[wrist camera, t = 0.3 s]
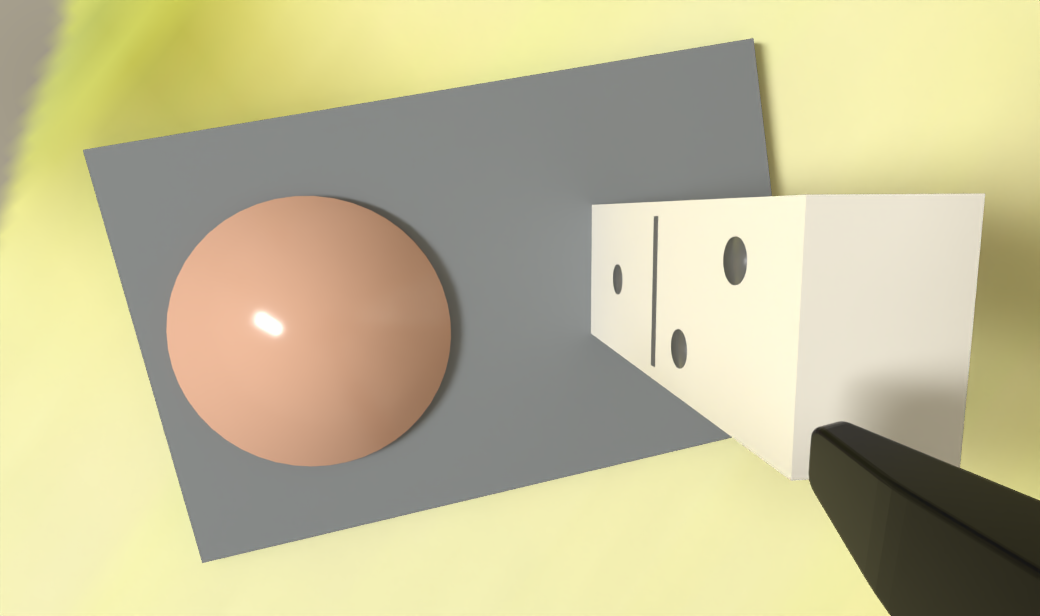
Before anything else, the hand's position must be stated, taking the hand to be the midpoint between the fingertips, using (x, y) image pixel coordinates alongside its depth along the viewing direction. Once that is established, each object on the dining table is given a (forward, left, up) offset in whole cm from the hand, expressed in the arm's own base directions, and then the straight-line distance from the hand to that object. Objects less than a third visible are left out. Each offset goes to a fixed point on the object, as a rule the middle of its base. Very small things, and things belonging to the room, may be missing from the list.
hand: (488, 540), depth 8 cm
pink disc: (-2, +4, -14) cm, 15 cm away
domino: (+5, -5, -14) cm, 16 cm away
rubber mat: (+1, 0, -15) cm, 15 cm away
